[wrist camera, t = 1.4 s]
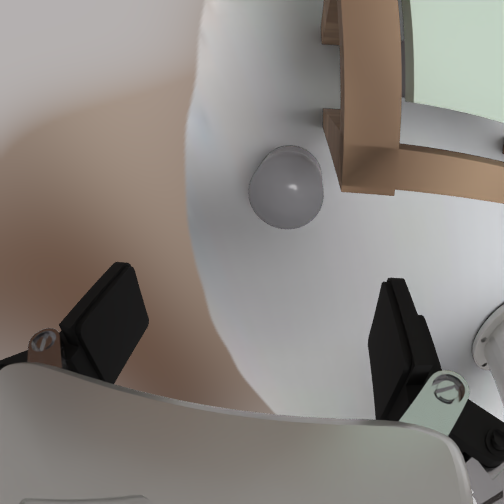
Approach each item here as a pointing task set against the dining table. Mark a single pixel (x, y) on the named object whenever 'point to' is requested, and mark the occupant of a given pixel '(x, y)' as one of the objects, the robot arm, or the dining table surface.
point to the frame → (387, 115)
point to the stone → (287, 188)
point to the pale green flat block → (454, 55)
